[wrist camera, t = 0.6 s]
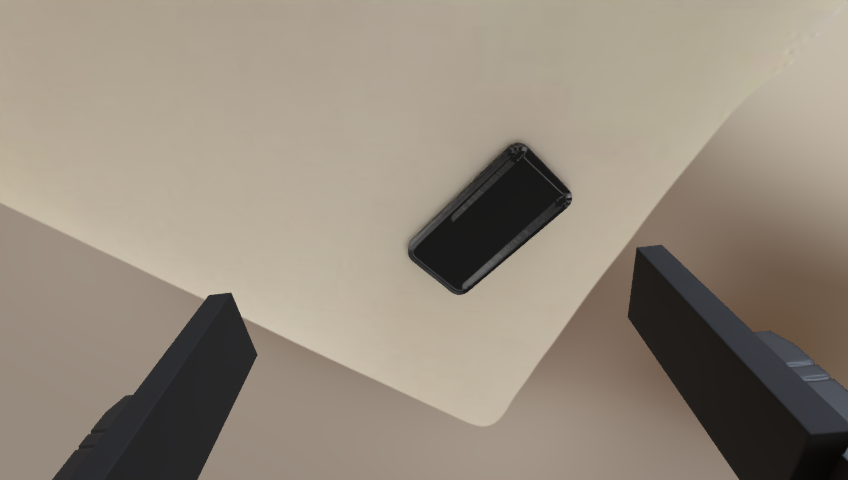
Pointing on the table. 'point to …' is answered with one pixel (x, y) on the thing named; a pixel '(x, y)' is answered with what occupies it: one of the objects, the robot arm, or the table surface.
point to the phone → (490, 220)
